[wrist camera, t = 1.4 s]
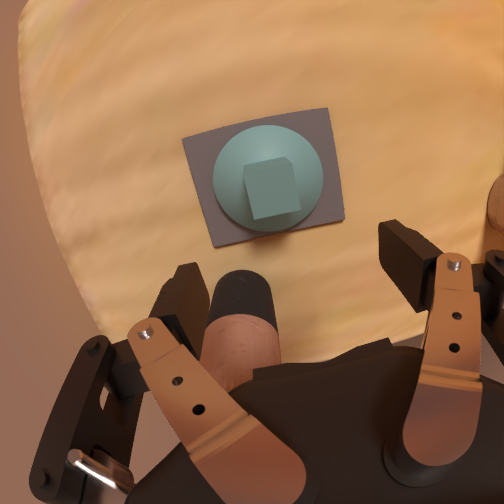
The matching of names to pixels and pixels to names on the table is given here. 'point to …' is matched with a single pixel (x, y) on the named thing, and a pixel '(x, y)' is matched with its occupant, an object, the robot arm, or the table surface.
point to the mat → (212, 142)
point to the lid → (268, 178)
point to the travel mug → (240, 329)
